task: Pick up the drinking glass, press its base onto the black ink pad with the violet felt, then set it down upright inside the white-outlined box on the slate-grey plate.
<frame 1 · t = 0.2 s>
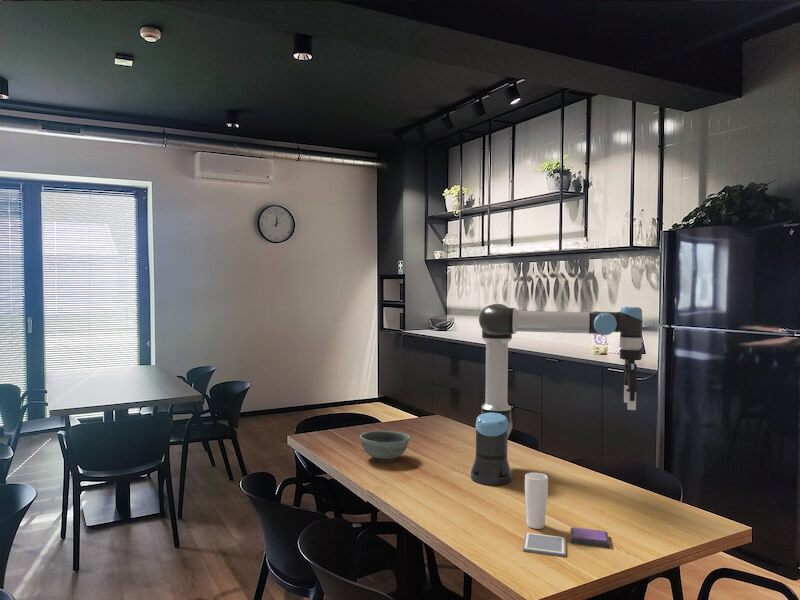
hand: (629, 406, 211), 28 cm above the table, fingers open, 13 cm apart
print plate: (544, 545, 157), on the table
ink pad: (589, 539, 161), on the table
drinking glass: (535, 526, 170), on the table
bowl: (384, 459, 236), on the table
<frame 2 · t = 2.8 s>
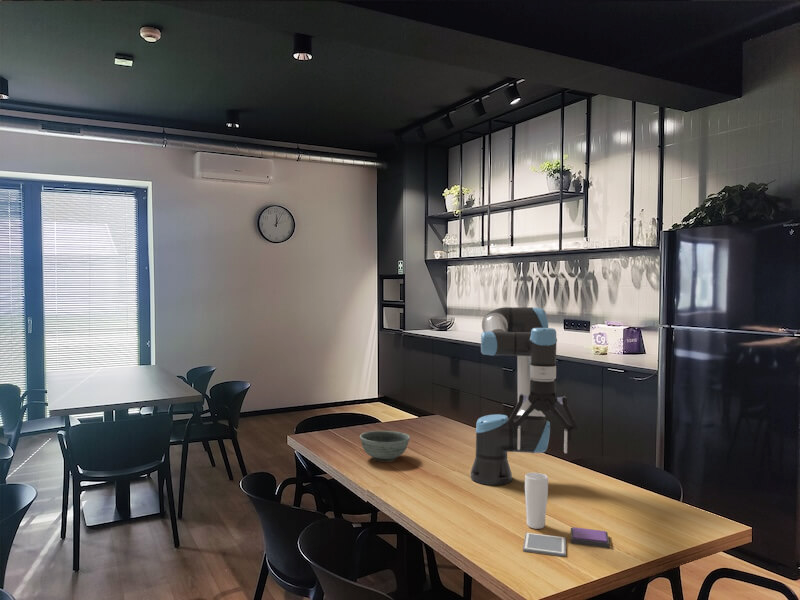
hand: (541, 450, 171), 22 cm above the table, fingers open, 13 cm apart
nothing on the table moved.
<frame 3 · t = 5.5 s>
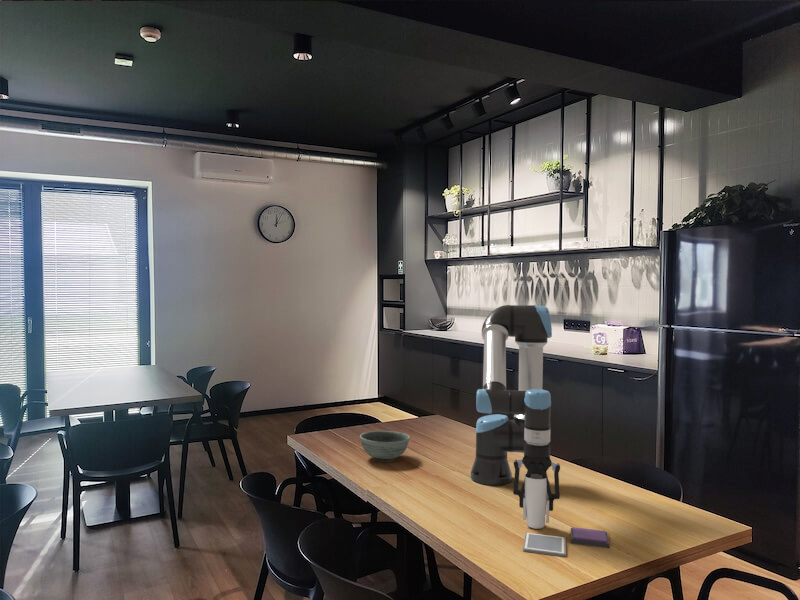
hand: (536, 519, 170), 2 cm above the table, fingers closed on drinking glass, 6 cm apart
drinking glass: (535, 526, 170), on the table, touching gripper
everything else where it was.
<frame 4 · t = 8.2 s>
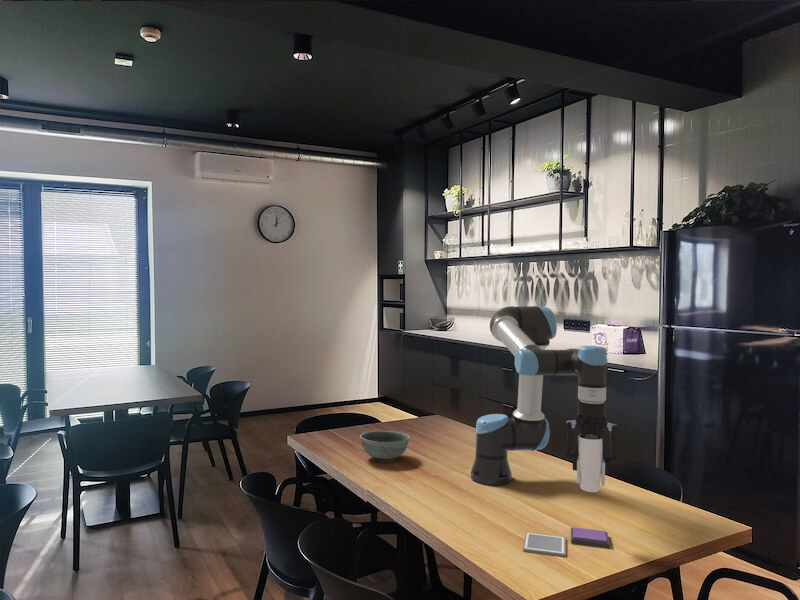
hand: (590, 482, 161), 16 cm above the table, fingers closed on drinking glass, 6 cm apart
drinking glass: (590, 490, 161), point 14 cm above the table, touching gripper
everything else where it was.
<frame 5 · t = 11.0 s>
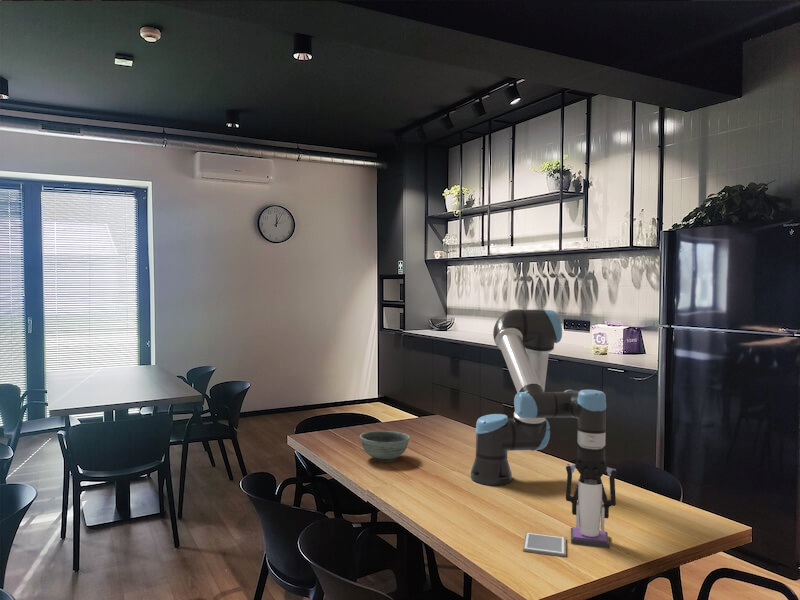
hand: (589, 527, 161), 3 cm above the table, fingers closed on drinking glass, 6 cm apart
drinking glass: (589, 534, 161), point 1 cm above the table, touching gripper, ink pad
everything else where it was.
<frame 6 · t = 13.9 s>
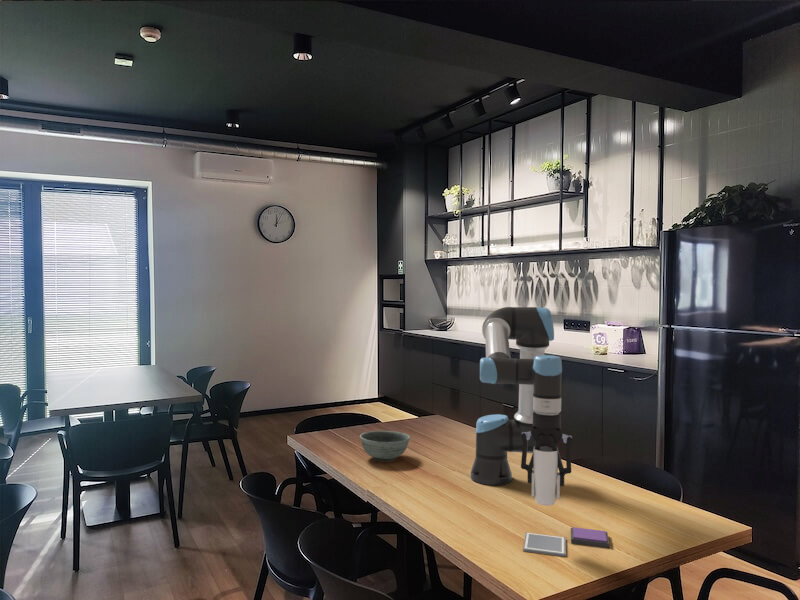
hand: (545, 496, 157), 14 cm above the table, fingers closed on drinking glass, 6 cm apart
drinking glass: (544, 503, 157), point 12 cm above the table, touching gripper
everything else where it was.
when the fingers open (4 cm above the table, at t = 16.6 s): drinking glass drops 1 cm, resting on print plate.
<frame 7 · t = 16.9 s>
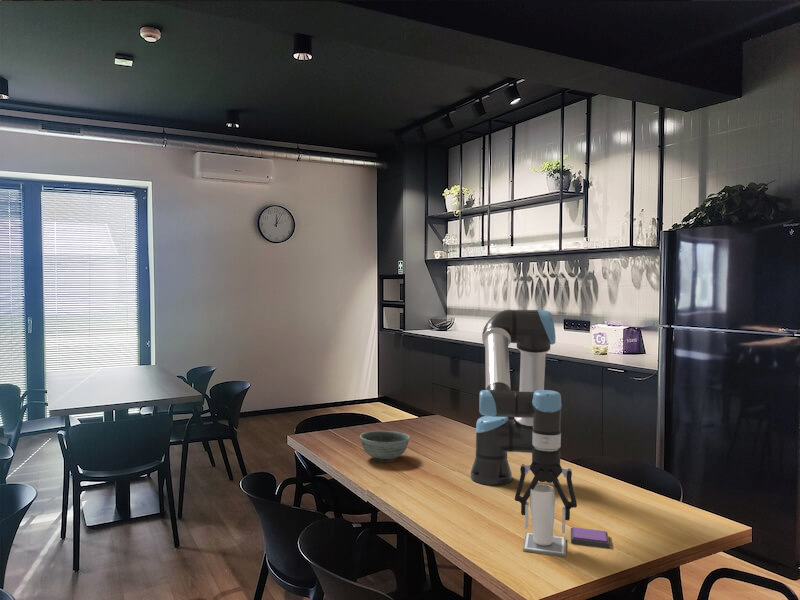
hand: (545, 528, 157), 5 cm above the table, fingers open, 9 cm apart
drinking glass: (543, 543, 158), resting on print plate
everything else where it was.
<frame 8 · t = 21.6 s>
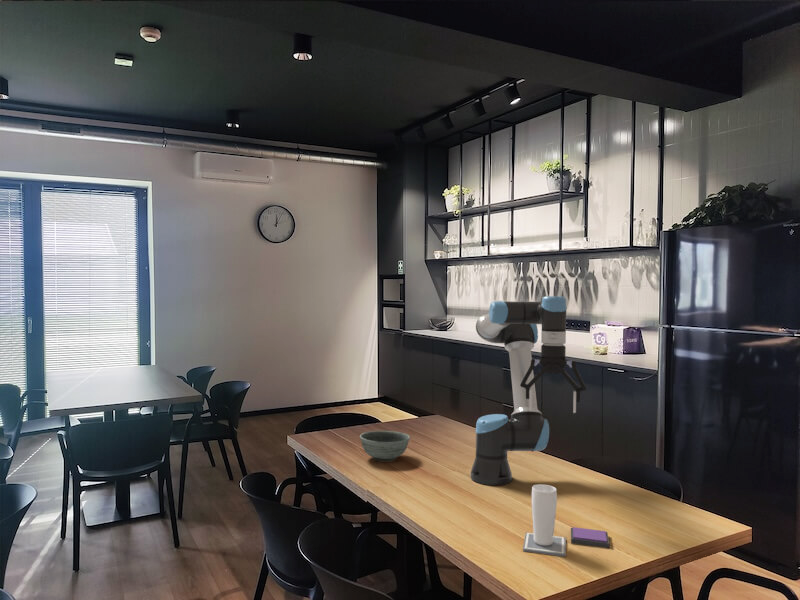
hand: (552, 410, 183), 32 cm above the table, fingers open, 13 cm apart
nothing on the table moved.
at the end: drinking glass inside the target area on the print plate (0.4 cm from its centre), point 0.5 cm above the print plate's base; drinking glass tilted 1°; the gripper is holding nothing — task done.
